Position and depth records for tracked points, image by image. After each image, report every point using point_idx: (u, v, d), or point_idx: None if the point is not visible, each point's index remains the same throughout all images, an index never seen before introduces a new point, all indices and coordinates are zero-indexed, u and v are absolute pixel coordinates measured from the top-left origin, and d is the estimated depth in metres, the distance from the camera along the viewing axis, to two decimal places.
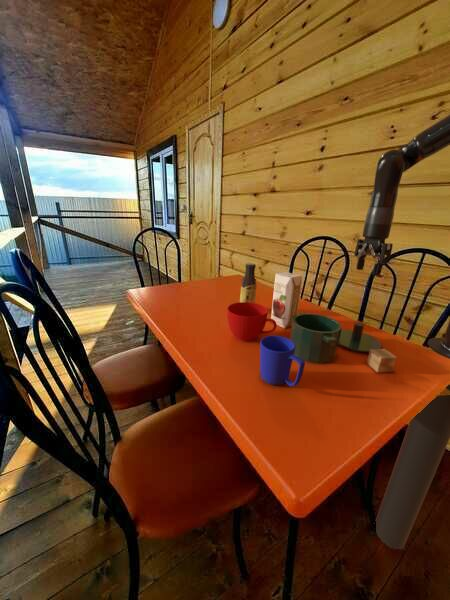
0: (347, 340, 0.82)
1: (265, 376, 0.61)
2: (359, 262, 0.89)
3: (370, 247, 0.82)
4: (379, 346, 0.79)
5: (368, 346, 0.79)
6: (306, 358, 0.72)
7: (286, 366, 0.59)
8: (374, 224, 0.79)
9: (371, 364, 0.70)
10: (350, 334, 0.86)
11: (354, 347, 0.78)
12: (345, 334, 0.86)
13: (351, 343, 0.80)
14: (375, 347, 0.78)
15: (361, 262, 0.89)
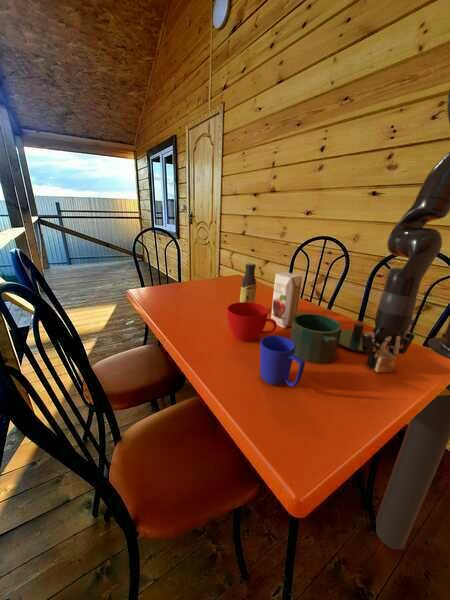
0: (347, 340, 0.82)
1: (265, 376, 0.61)
2: None
3: None
4: None
5: None
6: (306, 358, 0.72)
7: (286, 366, 0.59)
8: None
9: None
10: (350, 334, 0.86)
11: (354, 347, 0.78)
12: (345, 334, 0.86)
13: (351, 343, 0.80)
14: None
15: None
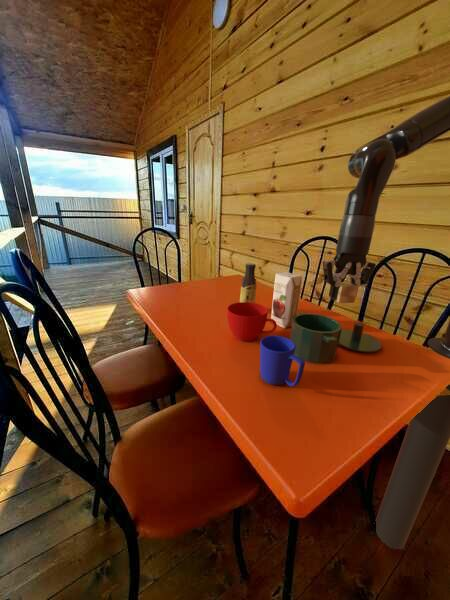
0: (347, 340, 0.82)
1: (265, 376, 0.61)
2: None
3: None
4: (379, 346, 0.79)
5: (368, 346, 0.79)
6: (306, 358, 0.72)
7: (286, 366, 0.59)
8: None
9: None
10: (350, 334, 0.86)
11: (354, 347, 0.78)
12: (345, 334, 0.86)
13: (351, 343, 0.80)
14: (375, 347, 0.78)
15: None
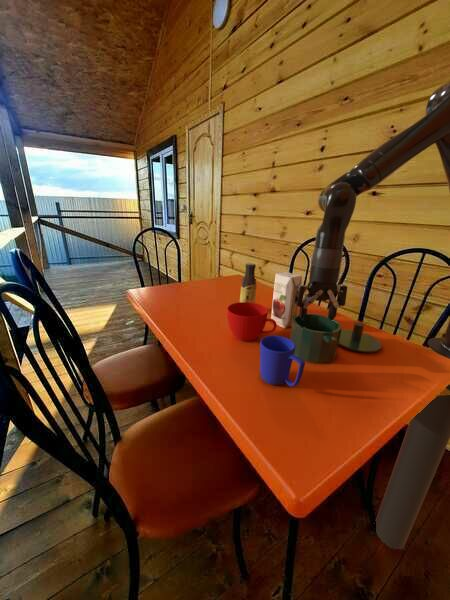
0: (347, 340, 0.82)
1: (265, 376, 0.61)
2: (329, 309, 0.74)
3: None
4: (379, 346, 0.79)
5: (368, 346, 0.79)
6: (306, 358, 0.72)
7: (286, 366, 0.59)
8: None
9: None
10: (350, 334, 0.86)
11: (354, 347, 0.78)
12: (345, 334, 0.86)
13: (351, 343, 0.80)
14: (375, 347, 0.78)
15: (330, 310, 0.74)
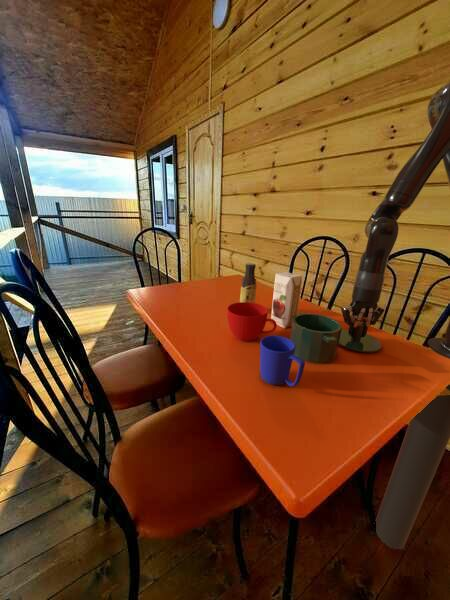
0: (347, 340, 0.82)
1: (265, 376, 0.61)
2: None
3: None
4: (379, 346, 0.79)
5: (368, 346, 0.79)
6: (306, 358, 0.72)
7: (286, 366, 0.59)
8: None
9: None
10: None
11: (354, 347, 0.78)
12: (345, 334, 0.86)
13: (351, 343, 0.80)
14: (375, 347, 0.78)
15: None
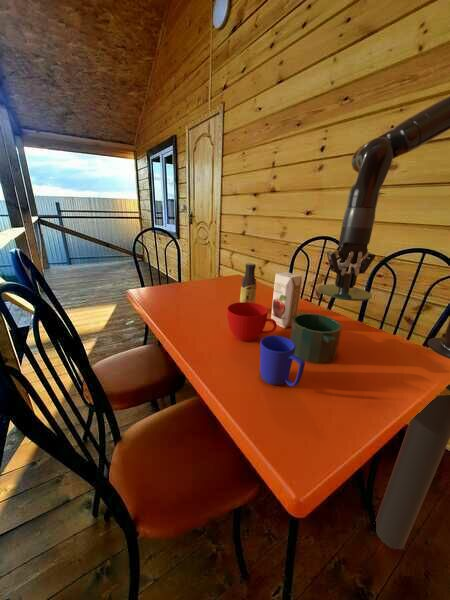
0: (334, 291, 0.74)
1: (265, 376, 0.61)
2: None
3: None
4: (369, 296, 0.70)
5: (357, 296, 0.70)
6: (306, 358, 0.72)
7: (286, 366, 0.59)
8: None
9: None
10: None
11: (341, 296, 0.69)
12: (332, 287, 0.77)
13: (338, 293, 0.72)
14: (364, 296, 0.70)
15: None
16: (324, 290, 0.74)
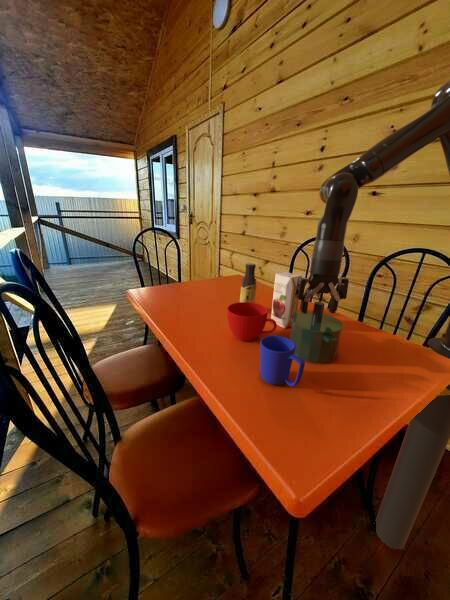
0: (306, 321, 0.73)
1: (265, 376, 0.61)
2: (330, 303, 0.74)
3: None
4: (340, 327, 0.70)
5: (328, 327, 0.70)
6: (306, 358, 0.72)
7: (286, 366, 0.59)
8: None
9: None
10: (312, 316, 0.77)
11: (312, 328, 0.69)
12: (306, 316, 0.77)
13: (310, 324, 0.71)
14: (336, 328, 0.69)
15: (332, 303, 0.73)
16: (297, 320, 0.74)
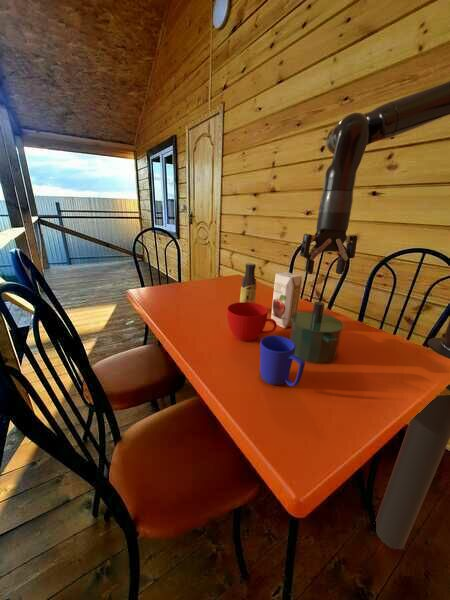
0: (306, 321, 0.73)
1: (265, 376, 0.61)
2: (337, 263, 0.70)
3: None
4: (340, 327, 0.70)
5: (328, 327, 0.70)
6: (306, 358, 0.72)
7: (286, 366, 0.59)
8: None
9: None
10: (312, 316, 0.77)
11: (312, 328, 0.69)
12: (306, 316, 0.77)
13: (310, 324, 0.71)
14: (336, 328, 0.69)
15: (339, 264, 0.69)
16: (297, 320, 0.74)
